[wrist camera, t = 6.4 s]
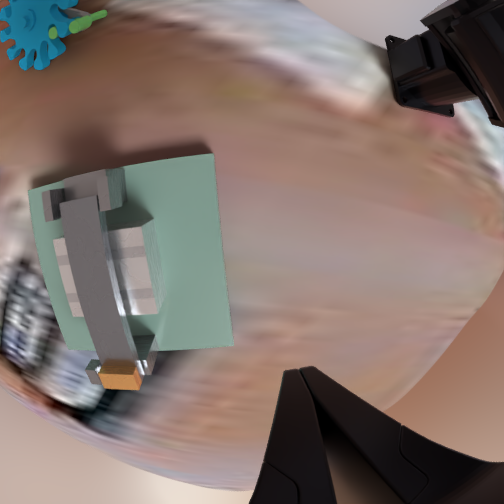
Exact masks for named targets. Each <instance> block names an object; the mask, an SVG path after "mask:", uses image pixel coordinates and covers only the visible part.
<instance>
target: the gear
mask: <svg viewBox="0 0 504 504" xmlns="http://www.w3.org/2000/svg"><path fill="white" fill-rule="evenodd" d="M8 1H9V2H10V5H8V6H6V7H4V8H2V9H1V12H0V20H1V21H6V22H7V23H8V24H9V25H10V26H9V27H7V28H5V29H4V30H2V31H1V32H0V39H1V42H5V41H6V40H8V39H14V40H15V42H16V44H15V45H14V46H12V47H10V48H9V49H8V50H7V55H8V57H9V59H10V60H13V59H14V58H16V57H17V56H19V55H20V52H21V50H22V48H23V49H24V50H25V57H24V58H22V59H21V60H20V61H19V66H20V67H21V68H22V69H23V70H25V71H26V70H27V69H29V68H30V67H32V66H33V64H34V68H35V69H36V70H43V69H44V68H46V67H47V66H49V65H50V60H52V59H54V58H56V57H57V56H59V55H61V54H62V53H64V52H65V51H66V47H65V45H64V43H62V42H61V41H60V39H59V38H58V37H61V38H64V37H66V36H68V35H70V34H71V33H73V34H74V33H79V32H82V31H84V30H86V29H88V28H89V27H90V26H91V24H92V22H93V21H95V20H98V19H101V18H103V17H105V16H106V15H107V11H106V10H101V11H98V12H95V13H93V14H89V13H88V12H85V11H81V10H78V9H74V8H71V7H73V6H76V5H77V4H78V0H8ZM47 44H48V52H47ZM35 51H36V52H37V57H36V59H35V61H34V53H35Z"/></svg>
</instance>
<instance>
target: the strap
mask: <svg viewBox="0 0 504 504" xmlns="http://www.w3.org/2000/svg"><path fill="white" fill-rule="evenodd" d="M59 205H60V213H61V220H62V226H63V232H64V238H65V243H66V249H67V254H68V258H69V263H70V267H71V272H72V276H73V280H74V284H75V287H76V291H77V295H78V298H79V302H80V305H81V309H82V312H83V315H84V318H85V321H86V324H87V327H88V330H89V333H90V336H91V339H92V341H93V344H94V347H95V349H96V352H97V355H98V357H99V360H100V362H101V364H102V367H101V369H100V370H99V372H98V375H99V377H100V379H101V382H102V384H103V386H104V388H109V389H125V390H139V389H140V386H141V383H142V380H143V377H144V371H143V368H142V365H141V362H140V359H139V356H138V353H137V350H136V347H135V344H134V341H133V338H132V334H131V331H130V328H129V324H128V321H127V317H126V314H125V310H124V306H123V302H122V298H121V294H120V290H119V286H118V281H117V277H116V272H115V268H114V263H113V258H112V253H111V247H110V241H109V235H108V229H107V223H106V216H105V211H102V212H100V206H99V199H98V195H95V196H90V197H86V198H81V199H76V200H72V201H67V202H63V203H59Z"/></svg>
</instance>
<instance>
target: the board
mask: <svg viewBox="0 0 504 504" xmlns="http://www.w3.org/2000/svg"><path fill="white" fill-rule="evenodd" d="M114 169H125V180H126V190H127V198H128V201H127V202H123V203H122V205H123V206H121V207H118V208H115V209H112V210H108V211H105V216H106V223H107V225H111V224H118V223H125V222H132V221H139V220H147V219H154V221H155V228H156V235H157V242H158V248H159V254H160V260H161V266H162V272H163V277H164V283H165V288H166V293H167V295H166V297H165V299H164V301H163V303H162V306H161V308H160V310H159V313H158V314H145V315H126V317H127V321H128V324H129V328H130V331H131V334H132V336H135V335H156V338H157V342H158V345H159V351H162V350H184V349H201V348H214V347H226V346H234V339H233V330H232V323H231V315H230V307H229V298H228V290H227V281H226V272H225V263H224V254H223V245H222V235H221V225H220V215H219V204H218V193H217V182H216V170H215V158H214V153H211V154H202V155H194V156H186V157H178V158H171V159H164V160H158V161H151V162H145V163H140V164H134V165H129V166H124V167H118V168H114ZM60 188H64V180H63V181H59V182H56V183H52V184H48V185H45V186H42V187H38V188H35V189H32V190H29V191H28V196H29V205H30V212H31V219H32V225H33V231H34V237H35V242H36V247H37V251H38V256H39V260H40V264H41V269H42V272H43V276H44V280H45V284H46V287H47V291H48V294H49V297H50V300H51V303H52V307H53V310H54V313H55V315H56V318H57V321H58V324H59V327H60V329H61V332H62V334H63V337H64V339H65V342H66V344H67V347H68V349H71V350H92V351H96V349H95V347H94V344H93V341H92V339H91V336H90V333H89V330H88V327H87V324H86V321H85V318H84V317H73V315H72V312H71V309H70V305H69V303H68V299H67V296H66V292H65V289H64V285H63V282H62V278H61V274H60V270H59V266H58V262H57V258H56V253H55V248H54V243H53V240H54V239H56V238H58V237H60V236H62V235H64V232H63V226H62V220H61V218H60V219H57V220H54V221H50V222H45V216H44V209H43V202H42V193H41V192H44V191H48V190H53V189H60Z"/></svg>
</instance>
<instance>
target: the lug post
mask: <svg viewBox="0 0 504 504" xmlns="http://www.w3.org/2000/svg"><path fill="white" fill-rule="evenodd" d="M132 338H133V341H134V344H135V347H136V350H137V353H138V356H139V359H140V362H141V365H142V368H143V371H144V375H151V373H152V370H153V367H154V363H155V360H156V357H157V354H158V351H159V345H158V342H157V338H156V335H135V336H132ZM101 367H102V364H101V362H100V360H94V359H91V361H90V363H89V364H88V366H87V368H86V369H85V371H86V373H87V375H88V377H89V379H90V381H91V383H92V384H99V385H102V382H101V379H100V377H99V375H98V372H99V370H100V369H101Z"/></svg>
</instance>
